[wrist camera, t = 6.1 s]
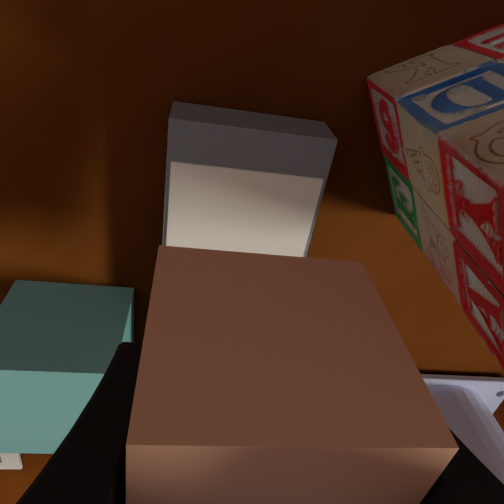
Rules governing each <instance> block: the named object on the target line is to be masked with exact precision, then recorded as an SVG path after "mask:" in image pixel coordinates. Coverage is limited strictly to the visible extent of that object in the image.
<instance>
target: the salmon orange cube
mask: <svg viewBox="0 0 504 504" xmlns="http://www.w3.org/2000/svg"><path fill="white" fill-rule="evenodd" d="M458 449H459V447H458V445H457V443H456V441H455V439H454V437H453V435H452V433H451V431H450V429H449V428H448V426H447V424H446V422H445V420H444V418H443V416H442V414H441V412H440V410H439V408H438V407H437V405H436V403H435V401H434V399H433V397H432V395H431V393H430V391H429V389H428V387H427V385H426V384H425V382H424V380H423V378H422V376H421V374H420V372H419V370H418V368H417V366H416V364H415V363H414V361H413V359H412V357H411V355H410V353H409V351H408V349H407V347H406V345H405V343H404V342H403V340H402V338H401V336H400V334H399V332H398V330H397V328H396V326H395V324H394V322H393V320H392V319H391V317H390V315H389V313H388V311H387V309H386V307H385V305H384V303H383V301H382V299H381V298H380V296H379V294H378V292H377V290H376V288H375V286H374V284H373V282H372V280H371V278H370V277H369V275H368V273H367V271H366V269H365V267H364V265H363V263H362V262H354V261H342V260H330V259H318V258H306V257H295V256H283V255H271V254H259V253H247V252H235V251H223V250H211V249H199V248H187V247H175V246H163V245H159V248H158V254H157V260H156V266H155V272H154V278H153V284H152V290H151V296H150V302H149V308H148V314H147V320H146V326H145V332H144V339H143V345H142V351H141V357H140V363H139V369H138V375H137V381H136V387H135V393H134V399H133V405H132V411H131V417H130V423H129V429H128V436H127V442H126V504H420V502H421V501H422V499H423V498H424V497H425V495H426V494H427V492H428V491H429V490H430V488H431V487H432V486H433V484H434V483H435V481H436V480H437V479H438V477H439V476H440V474H441V473H442V472H443V470H444V469H445V467H446V466H447V465H448V463H449V462H450V461H451V459H452V458H453V456H454V455H455V454H456V452H457V451H458Z"/></svg>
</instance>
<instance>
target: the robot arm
mask: <svg viewBox="0 0 504 504" xmlns="http://www.w3.org/2000/svg"><path fill="white" fill-rule="evenodd" d="M142 345H143V343H141V342H122V343H121V344H119V345H118V347H117V349H116V352H115V354H114V356H113V358H112V360H111V362H110V364H109V366H108V368H107V370H106V372H105V374H104V376H103V378H102V379H101V381H100V383H99V385H98V386H97V388H96V390H95V392H94V393H93V395H92V397H91V398H90V400H89V401H88V403H87V405H86V406H85V408H84V409H83V411H82V412H81V414H80V416H79V417H78V419H77V420H76V422H75V424H74V425H73V427H72V428H71V430H70V431H69V433H68V434H67V435H66V437H65V438H64V440H63V441H62V443H61V444H60V445H59V447H58V448H57V450H56V451H55V452H54V454H53V455H52V457H51V458H50V460H49V461H48V462H47V464H46V465H45V467H44V468H43V469H42V471H41V472H40V473H39V475H38V476H37V477H36V479H35V480H34V481H33V483H32V484H31V485H30V487H29V488H28V489H27V490H26V492H25V493H24V494H23V496H22V497H21V498H20V499H19V501H18V502H17V503H16V504H126V442H127V436H128V429H129V423H130V417H131V411H132V405H133V399H134V393H135V387H136V381H137V375H138V369H139V363H140V357H141V351H142ZM421 376H422V378H423V380H424V382H425V384H426V385H427V387H428V389H429V391H430V393H431V395H432V397H433V399H434V401H435V403H436V405H437V407H438V408H439V410H440V412H441V414H442V416H443V418H444V420H445V422H446V424H447V426H448V428H449V429H450V431H451V433H452V435H453V437H454V439H455V441H456V443H457V445H458V447H459V449H458V451H457V452H456V454H455V455H454V456H453V458H452V459H451V461H450V462H449V463H448V465H447V466H446V467H445V469H444V470H443V472H442V473H441V474H440V476H439V477H438V479H437V480H436V481H435V483H434V484H433V486H432V487H431V488H430V490H429V491H428V492H427V494H426V495H425V497H424V498H423V499H422V501H421V502H420V504H504V432H503V430H502V429H501V427H500V426H499V424H498V422H497V421H496V419H495V418H494V416H493V413H494V412H495V410H496V409H497V408H498V406H499V405H500V403H501V402H502V401H503V399H504V378H503V377H480V376H457V375H434V374H421Z"/></svg>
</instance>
